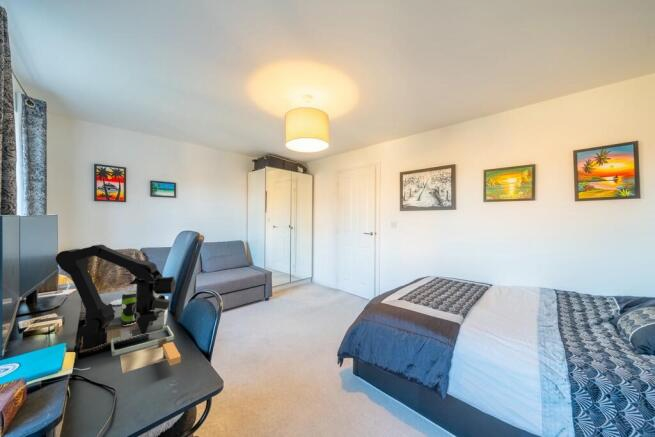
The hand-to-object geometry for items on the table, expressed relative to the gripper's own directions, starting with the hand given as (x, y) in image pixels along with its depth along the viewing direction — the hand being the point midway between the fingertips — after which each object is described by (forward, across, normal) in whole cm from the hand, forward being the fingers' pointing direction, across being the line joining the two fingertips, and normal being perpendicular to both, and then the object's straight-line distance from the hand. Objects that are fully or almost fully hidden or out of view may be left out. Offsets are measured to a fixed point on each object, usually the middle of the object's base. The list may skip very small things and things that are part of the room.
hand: (143, 332), depth 98 cm
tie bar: (0, -25, -5) cm, 25 cm away
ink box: (+5, +18, -9) cm, 20 cm away
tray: (+4, 0, 0) cm, 4 cm away
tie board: (+4, -14, -1) cm, 15 cm away
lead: (0, 0, 0) cm, 0 cm away
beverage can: (+4, +25, +2) cm, 26 cm away
